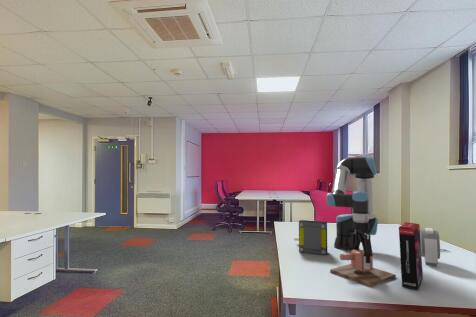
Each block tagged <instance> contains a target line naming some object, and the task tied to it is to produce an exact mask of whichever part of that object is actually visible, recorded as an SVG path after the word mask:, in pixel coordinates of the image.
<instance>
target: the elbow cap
mask: <svg viewBox="0 0 476 317" xmlns="http://www.w3.org/2000/svg"><path fill="white" fill-rule="evenodd" d="M363 255H365V254H364V250H363V249H360V250H351V253H340V254H339V259H340V260H341V261H350V264H351V267H352V268H354V269H356V270H360V271H371V270H373V268H374V264H373V263H374V262H373V259H374V258H373V256H370V269H364V256H363Z"/></svg>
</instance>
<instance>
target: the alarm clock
mask: <svg viewBox="0 0 476 317" xmlns="http://www.w3.org/2000/svg"><path fill="white" fill-rule="evenodd" d="M420 240H421V255H422V258H423V259H424V264H425V265H426V266H429V267H435V268H436V267H438V264H439V259H440V258H441V242H440V241H441V240H440V234H439V231H437V230H434V229H433V228H432V227H425V228H424V229H420Z"/></svg>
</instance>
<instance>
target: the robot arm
mask: <svg viewBox="0 0 476 317" xmlns="http://www.w3.org/2000/svg"><path fill="white" fill-rule="evenodd" d="M334 175H335V176H334V180H333V185H332V189H331V192H329V193H327V194H326V199H325V200H326V205H327V206H328V207H334V208H337V207H338V208H351V209H352V213H351V214H350V213H345V214H339V215H337V216H336V219H335V220H336V221H335V223H336V226H335V227H336V236H335V239H334V245H333V248H335V249H338V250H343V251H352V250H361V249H360V245H361V246H362V250H364V254H365V255H363V256H364V269H370V256H373V254H374V252H373V248H372V242H371V237H372V236H376V235H377V233H378V232H377V231H378V224H379V219H378V218H377V217H376V215H375V214H374V210H373V208H374V207H373V186H372V185H373V182H372V181H373V179H374V178H375V175H377V168H376V162H375V159H374V158H373V157H368V156H362V157H360V156H359V157H346V158H344V159H342V160H341V161H339V162H338V163H337V164H336V166H335V168H334ZM350 175H352V176H355V177H354V178H355V179H357V190H356V191H353V192H352V193H346V192H347V191H346V190H347V183H348V177H349V176H350Z"/></svg>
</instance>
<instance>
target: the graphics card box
mask: <svg viewBox="0 0 476 317" xmlns="http://www.w3.org/2000/svg"><path fill="white" fill-rule="evenodd" d="M420 230H421V226H420V224H419V223H416V222H407V221H406V222H404V223H402V224H401V225H400V226H398V236H399V240H398V241H399V255H400V256H399V257H400V273H401V276H400V277H401V287H403V288H408V289H411V290H417V291H418V290H419V288H420V286H421V284H422V282H423V280H424V275H423V274H424V272H423V257H422V255H421V240H420Z"/></svg>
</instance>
